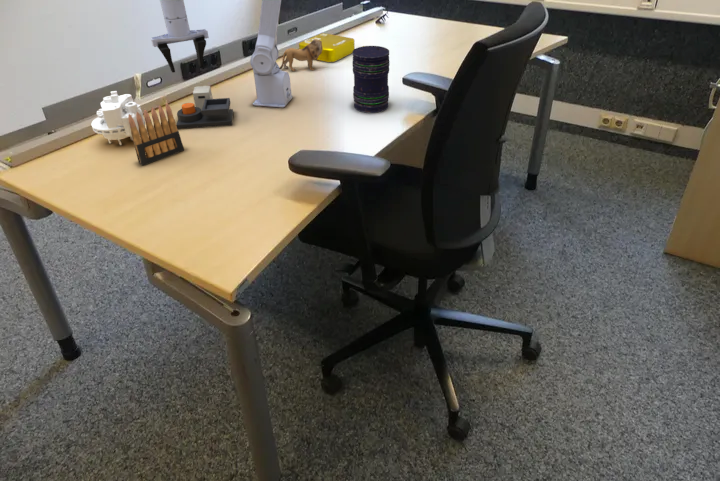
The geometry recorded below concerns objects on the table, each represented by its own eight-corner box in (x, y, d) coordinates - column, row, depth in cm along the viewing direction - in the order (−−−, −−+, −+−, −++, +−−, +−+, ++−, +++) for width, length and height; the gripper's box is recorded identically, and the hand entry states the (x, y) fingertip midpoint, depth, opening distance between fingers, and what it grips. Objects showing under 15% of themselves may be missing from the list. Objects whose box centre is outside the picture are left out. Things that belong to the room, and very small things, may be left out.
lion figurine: (322, 64, 171) (320, 36, 166) (324, 69, 167) (323, 41, 162) (278, 68, 169) (275, 40, 163) (279, 73, 165) (276, 45, 159)
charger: (214, 104, 146) (210, 85, 143) (212, 111, 142) (208, 92, 139) (198, 105, 145) (194, 86, 142) (196, 112, 141) (192, 93, 138)
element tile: (332, 63, 172) (331, 48, 169) (297, 56, 178) (296, 42, 175) (356, 51, 182) (356, 37, 179) (322, 44, 188) (321, 31, 185)
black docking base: (233, 112, 141) (231, 102, 139) (231, 125, 135) (229, 114, 133) (181, 116, 140) (178, 106, 138) (177, 129, 133) (174, 118, 131)
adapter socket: (230, 103, 139) (229, 97, 138) (228, 114, 133) (227, 108, 132) (205, 104, 138) (204, 99, 137) (202, 116, 132) (201, 110, 131)
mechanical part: (109, 130, 133) (94, 86, 126) (154, 130, 133) (142, 85, 126) (90, 150, 124) (72, 104, 117) (138, 150, 124) (124, 104, 117)
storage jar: (372, 116, 138) (372, 60, 129) (346, 106, 143) (344, 52, 134) (396, 104, 143) (397, 50, 134) (369, 96, 149) (369, 43, 140)
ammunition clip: (180, 147, 125) (168, 100, 118) (184, 150, 124) (172, 102, 117) (138, 162, 119) (123, 114, 112) (142, 165, 118) (126, 116, 111)
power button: (196, 109, 137) (194, 102, 135) (195, 114, 134) (193, 107, 133) (184, 110, 136) (182, 103, 135) (182, 115, 134) (180, 108, 132)
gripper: (198, 9, 139) (208, 60, 147) (143, 17, 133) (157, 69, 141) (206, 15, 134) (216, 67, 142) (149, 23, 128) (162, 77, 137)
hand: (187, 68), depth 141 cm, fingers open, 7 cm apart
